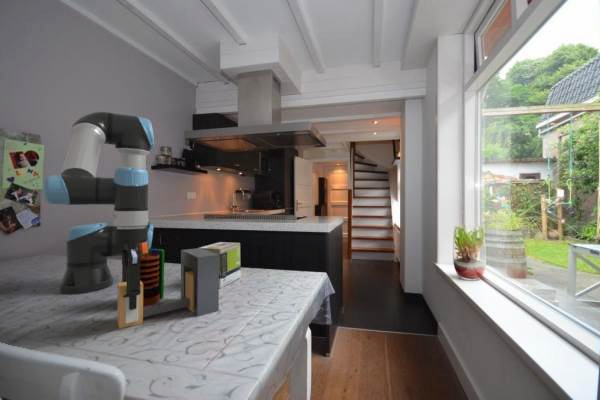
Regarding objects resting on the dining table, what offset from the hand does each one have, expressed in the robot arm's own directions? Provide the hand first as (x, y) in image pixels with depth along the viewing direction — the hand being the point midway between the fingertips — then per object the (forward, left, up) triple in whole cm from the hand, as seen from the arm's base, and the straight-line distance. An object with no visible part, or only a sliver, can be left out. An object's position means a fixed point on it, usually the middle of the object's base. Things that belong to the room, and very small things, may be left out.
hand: (130, 317), depth 69 cm
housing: (0, +18, -1) cm, 18 cm away
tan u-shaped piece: (0, +8, -1) cm, 8 cm away
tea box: (-19, +33, -2) cm, 38 cm away
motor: (-14, +6, -1) cm, 15 cm away
